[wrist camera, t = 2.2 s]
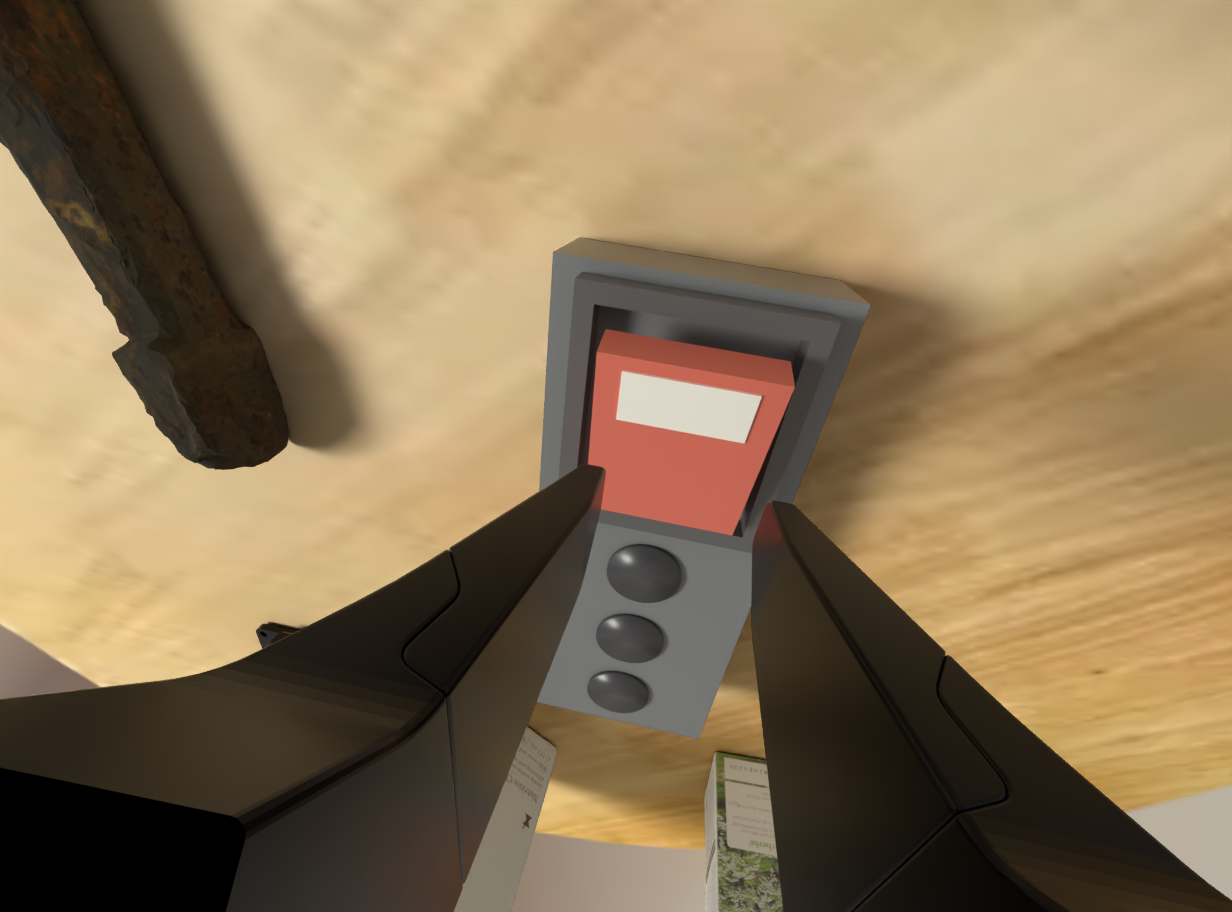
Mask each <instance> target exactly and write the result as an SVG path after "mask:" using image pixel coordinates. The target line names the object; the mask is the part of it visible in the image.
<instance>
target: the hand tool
mask: <svg viewBox="0 0 1232 912" xmlns="http://www.w3.org/2000/svg"><path fill="white" fill-rule="evenodd" d="M0 143H2V144H3V145H4V146H5V147H7V148H8V149H9V151H10V152H11V154H12V156H13V158H14V159H15V161H16V163H17V165H18V166H19V168H20V169H21V171H22V172H23V173H24V174H25V176H26V177H27V178H28V180H29V182H30V183H31V185H32V187H33V188H34V190H35V192H36V193H37V195H38V197H39V198H40V200H41V202H42V203H43V205H44V206H45V208H46V209H47V210H48V212H49V213H50V214H51V216H52V217H53V218H54V220H55V222H56V224H57V225H58V227H59V228H60V230H61V231H62V233H63V234H64V236H65V237H66V239H67V241H68V243H69V244H70V246H71V248H72V249H73V251H74V253H75V254H76V256H77V258H78V259H79V261H80V262H81V264H82V266H83V267H84V269H85V271H86V272H87V274H88V275H89V277H90V278H91V280H92V282H93V283H94V285H95V289H96V290H97V291H98V292H99V293H100V294H101V296H102V299H103V304H104V305H105V306H106V307H107V308H108V309H109V311H110V312H111V313H112V315H113V316H114V317H115V319H116V323H117V326H118V329H119V332H120V333H121V334H123V335H125V336H127V337H128V338H129V341H128V342H127V343H126V344H125V345H124V346H122V347H120V348H119V349H117V350H116V351H114V352H112V356H113V358H114V359H115V361H116V362H117V364H118V366H119V368H120V370H121V371H122V373H123V375H124V376H125V378H126V379H127V380H128V381H129V382H130V384H131V385H132V386H133V387H134V389H135V390H136V392H137V393H138V395H139V397H140V399H141V400H142V401H143V403H144V405H145V409H146V412H147V413H148V414H149V415H151V416H153V418H154V421H155V425H156V426H157V428H158V429H159V430H160V431H161V432H162V433H163V434H164V436H166V437H168V438H169V439H170V440H171V442H172V443H173V444H174V445H175V447H176V449H177V451H178V452H179V453H180V454H181V455H182V456H184V457H185V458H186V459H188V460H190V461H192V462H194V463H199V464H201V465H203V466H205V467H207V468H214V469H215V470H216V469H221V470H226V469H235V468H238V467H239V468H240V467H254V466H257V465H259V464H262V463H264V462H268V461H269V460H270V459H272V458H273V457H274V456H276V455H277V454H278V453H280V452H281V451H282V450H283V449H284V448H286V446H287V444H288V441H289V440H288V434H289V432H288V428H287V423H286V419H285V415H284V411H283V407H282V401H281V396H280V394H279V392H278V391H277V388H276V384H275V382H274V380H273V377H272V375H271V372H270V369H269V367H268V363H267V360H266V357H265V354H264V351H263V347H262V344H261V341H260V339H259V337H258V335H257V334H256V332H255V331H254V329H253V328H251V327H248V326H246V325H244V324H241V323H239V322H238V320H237V319H236V318H235V316H234V315H233V313H232V312H231V310H230V309H229V307H228V306H227V305H226V303H225V301H224V299H223V298H222V296H221V294H220V292H219V290H218V288H217V286H216V284H215V283H214V281H213V279H212V276H211V274H210V271H209V269H208V266H207V264H206V261H205V259H204V257H203V255H202V253H201V251H200V249H199V247H198V245H197V243H196V241H195V239H194V237H193V234H192V232H191V229H190V226H189V222H188V219H187V218H186V216H185V215H184V214H183V212H182V211H181V209H180V208H179V207H178V205H177V203H176V202H175V200H174V199H173V197H172V195H171V193H170V192H169V190H168V188H167V186H166V184H165V182H164V180H163V178H162V176H161V174H160V172H159V170H158V168H157V167H156V165H155V163H154V161H153V159H152V157H151V154H150V152H149V150H148V148H147V146H146V144H145V142H144V140H143V138H142V136H141V134H140V132H139V130H138V127H137V125H136V123H135V120H134V118H133V116H132V114H131V112H130V110H129V108H128V106H127V104H126V102H125V101H124V99H123V97H122V95H121V94H120V92H119V90H118V87H117V85H116V82H115V80H114V77H113V75H112V73H111V71H110V70H109V68H108V66H107V65H106V63H105V61H104V60H103V58H102V56H101V55H100V53H99V51H98V49H97V47H96V45H95V43H94V40H93V38H92V36H91V34H90V32H89V30H88V28H87V26H86V24H85V22H84V20H83V18H82V16H81V14H80V12H79V9H78V8H77V6H76V4H75V2H74V1H73V0H0Z"/></svg>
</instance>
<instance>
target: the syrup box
mask: <svg viewBox="0 0 1232 912" xmlns="http://www.w3.org/2000/svg"><path fill="white" fill-rule="evenodd" d="M704 804H705V847H706V912H783V904H782V896H781V887H780V878H779V869H778V860H777V851H776V843H775V834H774V825H773V816H772V807H771V799H770V790H769V781H768V772H767V763H766V760H761V759H755V758H749V757H743V756H737V755H731V754H726V753H719V752H716V753H715V754H714V758H713V763H712V767H711V771H710V776H709V780H708V784H707V788H706V792H705V797H704Z"/></svg>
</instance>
